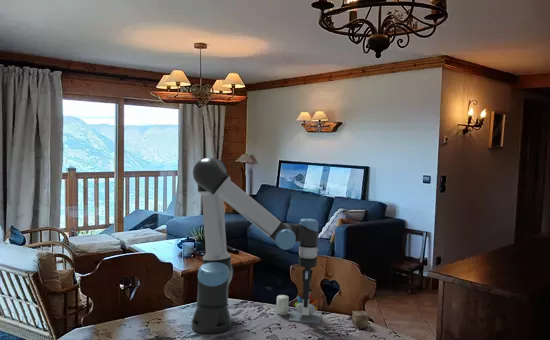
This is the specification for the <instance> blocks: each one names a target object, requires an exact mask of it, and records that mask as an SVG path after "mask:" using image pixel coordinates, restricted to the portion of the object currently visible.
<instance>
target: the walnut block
mask: <svg viewBox="0 0 550 340" xmlns="http://www.w3.org/2000/svg"><path fill="white" fill-rule="evenodd" d="M352 323H353V324H352ZM351 324H352V325H353V326H354V328H355V327H368V328H369V314H367V312H366V311H364V310H352V315H351Z"/></svg>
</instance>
